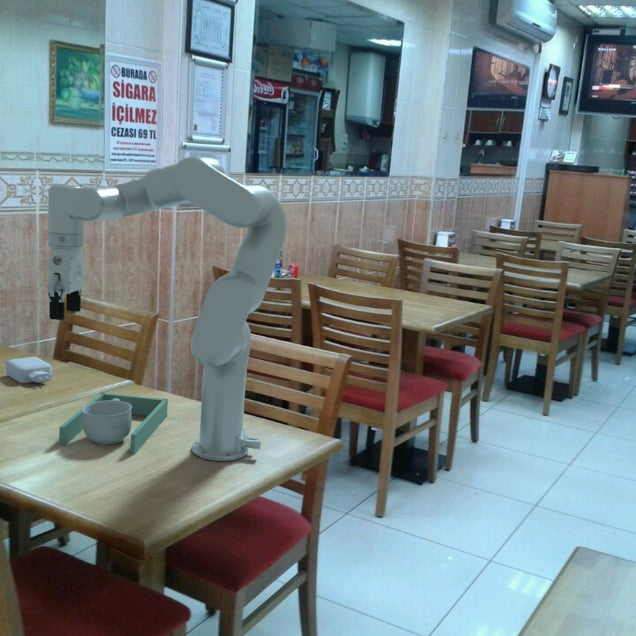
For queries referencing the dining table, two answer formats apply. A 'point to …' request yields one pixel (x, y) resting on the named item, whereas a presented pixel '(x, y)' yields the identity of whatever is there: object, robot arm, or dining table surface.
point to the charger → (28, 370)
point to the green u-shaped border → (140, 406)
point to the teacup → (107, 421)
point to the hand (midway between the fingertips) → (65, 315)
